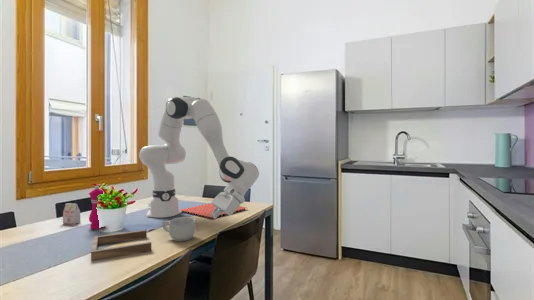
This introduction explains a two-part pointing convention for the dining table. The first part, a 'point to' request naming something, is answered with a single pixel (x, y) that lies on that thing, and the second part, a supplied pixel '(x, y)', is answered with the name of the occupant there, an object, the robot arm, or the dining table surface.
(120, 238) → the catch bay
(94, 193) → the pepper mill
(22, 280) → the dining table surface
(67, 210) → the small food carton
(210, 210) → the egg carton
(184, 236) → the teacup
